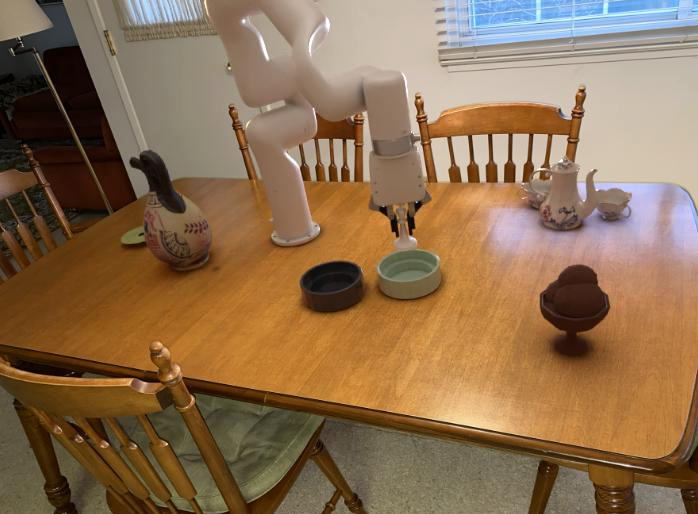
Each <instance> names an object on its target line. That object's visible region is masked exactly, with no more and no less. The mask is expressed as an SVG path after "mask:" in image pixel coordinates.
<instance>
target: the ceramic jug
mask: <svg viewBox="0 0 698 514" xmlns="http://www.w3.org/2000/svg"><path fill="white" fill-rule="evenodd" d="M138 157H139V158H137V157H136V156H131V157H130V158H129V162H128V163H129V165H130V167H131V169H135V170H137V171H141V172H142V173H143V175H144V176H145V178H146V181H147V184H148V195H147V199H146V202H145V208H144V213H143V219H142V220H143V221H142V224H143V225H142V226H143V228H144V237H145V240H146V241H145V244H146V245H147V248H148V250H149V251H150V253H151V254H152V255H153V256H154V258H155V259H157V260H158V261H160V262H162V263H164V264H166V265H168V266H170V267H171V268H173V269H174V270H175V271H178V272H183V271H190V270H194V269H198V268H200V267H202V266H204V264H205V263H207V261H209V258H210V253H209V250H210V248H211V245H212V243H213V231H212V227H211V224H210V222H209V221H208V218H207V217H206V216H205V214H204V212H203V211H202V210H201V209H200V207H199V206H198V205H196V203H195V202H193V201H192V200H191V199H189V198H188V197H187V196H185V195H184V194H183V193H180V192H179V191H178V190H177V189H175V188H174V187H173V184H172V181H171V176H170V174H169V171H168V168H167V166H166V163H165V162H164V160H163V158H162V156H161V155H159V154H158V153H157V152H155V151H153V150H152V149H145V150H143V151H141V152H140V153H139V156H138Z"/></svg>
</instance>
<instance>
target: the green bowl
mask: <svg viewBox="0 0 698 514" xmlns="http://www.w3.org/2000/svg"><path fill="white" fill-rule="evenodd" d="M375 269H376V276H377V283H378V287H379V289H380V291H381V292H382V293H383V294H384V295H385V296H388V297H390V298H393V299H398V300H399V299H400V300H411V299H418V298H421V297H425V296H427V295H428V294H431V293H433V292H435V290H437V289H438V288H439V286H440V284H441V283H442V270H441V269H442V268H441V259H440V258H439V256H438V255H437V254H436V253H434V252H432V251H430V250H426V249H424V248H423V249H422V248H414V249H412V250H409V251H398V250H396V251H393V252H391V253H388V254H387V255H385V256H384V257H382V258H381V259H380V260H379V261H378V263H377V265H376V268H375Z"/></svg>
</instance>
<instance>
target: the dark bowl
mask: <svg viewBox="0 0 698 514" xmlns="http://www.w3.org/2000/svg"><path fill="white" fill-rule="evenodd" d="M362 269H363V268H362V267H361V266H360V265H359V264H357V263H354V262H352V261H350V260H330V261H326V262H321V263H319V264H317V265H314V266H312V267H311V268H309V269H307V270H306V271H305V272H304V273H303V274H302V275H301V276H300V279H299V287H300V292H301V295H302V299H303V302H304V304H305V305H306V306H307V308H309V309H311V310H313V311H317V312H337V311H340V310H344V309H347V308H349V307H352V306H354V305H355V304H356V303H358V302H359V301H360V300H361V299H362V298H363V296H364V295H365V293H366V284H365V278H364V272H363V270H362Z"/></svg>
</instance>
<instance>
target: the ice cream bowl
mask: <svg viewBox="0 0 698 514" xmlns="http://www.w3.org/2000/svg"><path fill="white" fill-rule="evenodd" d="M539 309H540V314H541V315H542V317H543V319H544V320H546V321H547V322H548V323H549V324H551V326H553V327H554V328H555V329H557V330H559V331H561V332H565V334H560V335H559V336H558V337H557V338H555V339H554V342H553V345H554V349H555V350H556V352H558V353H559V354H560V355H563V356H568V357H576V356H583V354H584V353H586V352H587V351H588V343H587V340H586V339H584V338H583V336H581V335H578V333H583V332H588V331H591V330H593V329H595V327H597V326H598V325H599V324H600V323H601V322H603V321H604V320H605V318H606V317H607V316H608V314H609V312H610V309H611V303H610V297H609V294H608V293H606V292H605V291H603V290H602V288H601V287H600V286H599V279H598V274H597V272H596V271H595V270H594V269H593V268H592V267H590V266H589V265H585V264H581V263H578V264H577V263H576V264H571V265H569V266H567V267H566V268H564V269H563V270H562V271H561V272H560V273H559V274H558V276H557V279H554V280H553V281H552V282H550V283H549V284H548V286H547V287H546V289H544V290H543V291H541V292H540V293H539Z"/></svg>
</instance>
